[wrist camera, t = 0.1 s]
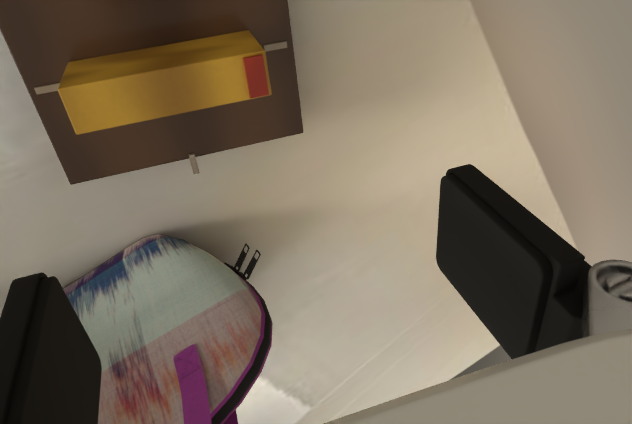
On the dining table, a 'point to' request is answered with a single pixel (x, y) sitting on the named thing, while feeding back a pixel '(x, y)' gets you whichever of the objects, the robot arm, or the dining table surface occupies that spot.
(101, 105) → the yellow block
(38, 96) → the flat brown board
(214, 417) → the handbag
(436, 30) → the dining table surface
